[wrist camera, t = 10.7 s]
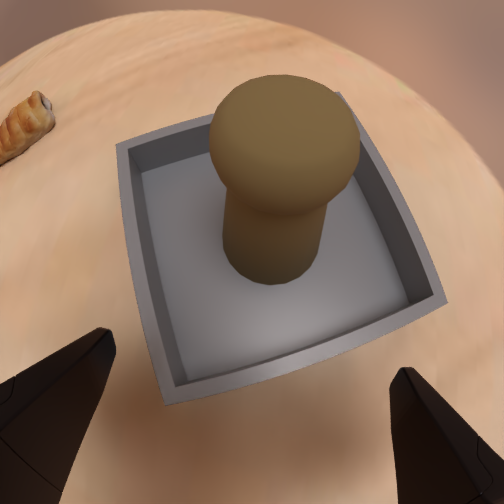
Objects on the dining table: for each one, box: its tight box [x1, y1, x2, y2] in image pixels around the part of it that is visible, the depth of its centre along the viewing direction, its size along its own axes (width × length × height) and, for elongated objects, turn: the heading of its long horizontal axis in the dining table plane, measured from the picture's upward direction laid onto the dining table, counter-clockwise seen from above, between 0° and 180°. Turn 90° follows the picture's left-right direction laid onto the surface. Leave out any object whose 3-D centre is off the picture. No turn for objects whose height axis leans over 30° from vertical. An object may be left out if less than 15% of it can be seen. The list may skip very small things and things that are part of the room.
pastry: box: [0, 91, 55, 165], centre depth 22 cm, size 9×7×4 cm
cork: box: [209, 75, 360, 285], centre depth 13 cm, size 6×6×11 cm
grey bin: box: [116, 92, 448, 406], centre depth 18 cm, size 16×16×4 cm
